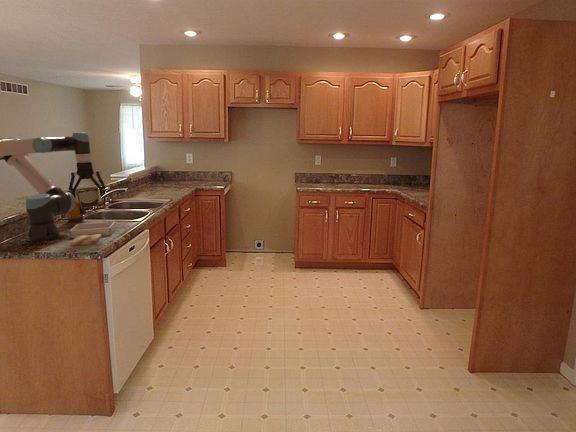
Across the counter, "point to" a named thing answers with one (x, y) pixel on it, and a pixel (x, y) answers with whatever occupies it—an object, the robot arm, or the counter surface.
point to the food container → (87, 197)
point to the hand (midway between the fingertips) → (89, 202)
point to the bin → (93, 229)
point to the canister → (75, 212)
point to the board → (86, 239)
